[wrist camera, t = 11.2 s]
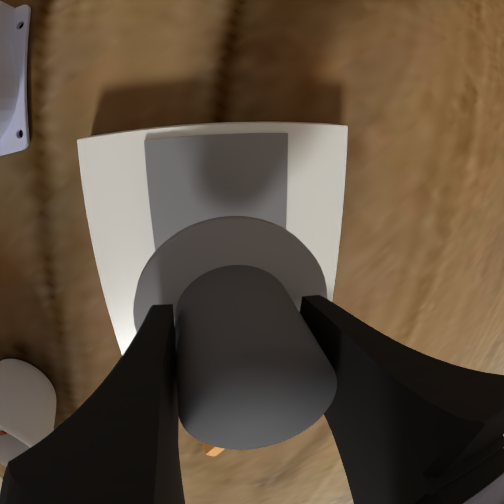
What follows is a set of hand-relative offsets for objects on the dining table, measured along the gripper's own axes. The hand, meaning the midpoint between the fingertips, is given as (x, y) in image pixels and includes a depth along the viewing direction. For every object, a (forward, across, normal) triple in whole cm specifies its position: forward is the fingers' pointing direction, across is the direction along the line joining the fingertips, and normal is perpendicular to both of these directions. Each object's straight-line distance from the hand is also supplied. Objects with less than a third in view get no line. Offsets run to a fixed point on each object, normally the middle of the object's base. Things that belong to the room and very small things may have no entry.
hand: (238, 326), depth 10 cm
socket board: (+10, -1, +4) cm, 11 cm away
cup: (+11, +17, +15) cm, 25 cm away
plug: (+4, 0, 0) cm, 4 cm away
